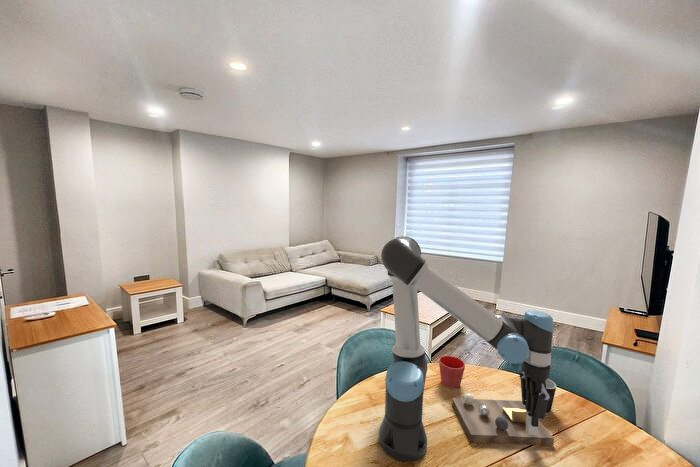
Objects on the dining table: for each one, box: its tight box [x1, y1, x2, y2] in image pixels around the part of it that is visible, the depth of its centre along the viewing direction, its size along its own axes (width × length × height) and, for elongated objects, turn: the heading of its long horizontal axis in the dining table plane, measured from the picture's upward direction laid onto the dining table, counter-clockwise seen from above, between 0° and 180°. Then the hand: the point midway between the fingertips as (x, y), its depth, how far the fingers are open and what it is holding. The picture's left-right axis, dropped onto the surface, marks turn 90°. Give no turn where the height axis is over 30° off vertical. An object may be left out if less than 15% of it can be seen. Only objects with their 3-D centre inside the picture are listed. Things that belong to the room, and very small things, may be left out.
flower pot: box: [438, 355, 466, 389], centre depth 122 cm, size 11×11×10 cm
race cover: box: [503, 408, 527, 423], centre depth 99 cm, size 6×6×4 cm
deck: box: [451, 397, 555, 446], centre depth 99 cm, size 26×18×2 cm
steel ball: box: [479, 405, 490, 417], centre depth 99 cm, size 3×3×3 cm
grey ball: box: [495, 417, 508, 430], centre depth 93 cm, size 4×4×4 cm
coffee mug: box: [545, 378, 557, 414], centre depth 109 cm, size 12×9×10 cm
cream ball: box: [463, 392, 475, 405], centre depth 105 cm, size 4×4×4 cm
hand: (531, 432), depth 90 cm, fingers closed
